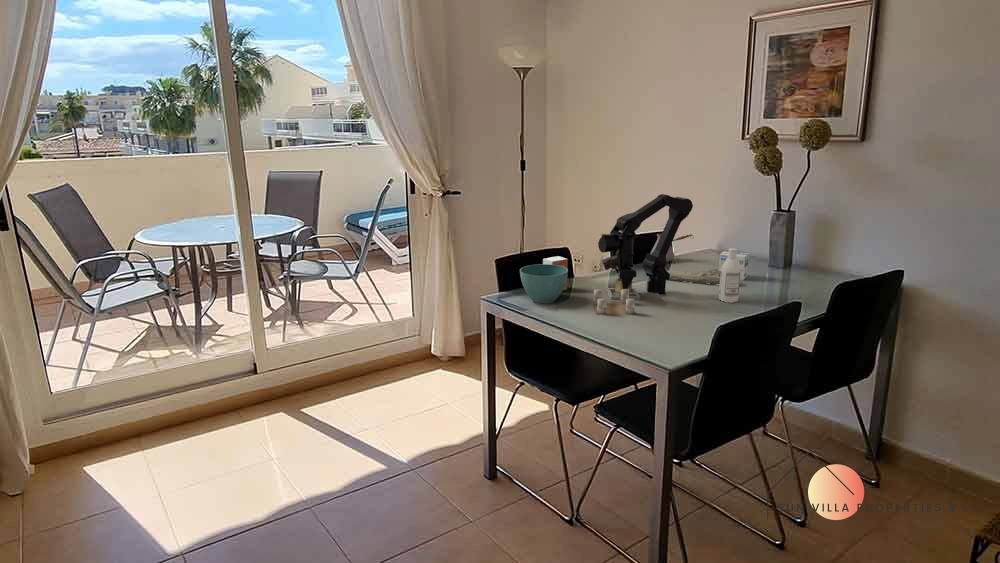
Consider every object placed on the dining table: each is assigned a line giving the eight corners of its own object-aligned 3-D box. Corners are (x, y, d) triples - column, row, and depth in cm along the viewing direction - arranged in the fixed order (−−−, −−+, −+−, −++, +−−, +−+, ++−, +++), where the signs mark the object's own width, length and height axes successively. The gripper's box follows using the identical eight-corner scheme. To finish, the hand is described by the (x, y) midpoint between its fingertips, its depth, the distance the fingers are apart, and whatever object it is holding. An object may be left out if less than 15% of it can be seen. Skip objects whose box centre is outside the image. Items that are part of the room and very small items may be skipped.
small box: (551, 293, 248) (552, 261, 245) (542, 289, 253) (542, 258, 250) (567, 289, 253) (568, 258, 249) (557, 286, 258) (558, 255, 254)
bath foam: (742, 301, 234) (746, 249, 229) (728, 304, 231) (732, 251, 226) (728, 296, 240) (732, 246, 235) (714, 299, 237) (718, 248, 232)
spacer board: (629, 303, 234) (629, 288, 232) (636, 317, 218) (637, 301, 217) (591, 303, 234) (592, 288, 233) (596, 317, 219) (596, 301, 217)
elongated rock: (656, 277, 276) (651, 283, 267) (656, 265, 274) (651, 272, 266) (740, 281, 260) (737, 288, 252) (740, 269, 259) (738, 276, 250)
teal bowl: (533, 310, 227) (533, 277, 224) (512, 297, 243) (512, 267, 240) (576, 303, 234) (576, 272, 231) (553, 291, 250) (553, 262, 247)
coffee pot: (644, 260, 299) (646, 230, 295) (658, 257, 306) (660, 227, 302) (683, 268, 284) (686, 236, 280) (697, 264, 291) (699, 232, 287)
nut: (630, 289, 243) (631, 277, 242) (632, 293, 238) (633, 281, 237) (614, 289, 244) (614, 277, 242) (616, 293, 238) (616, 281, 237)
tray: (635, 293, 246) (635, 288, 246) (640, 301, 236) (640, 296, 235) (607, 293, 247) (607, 288, 246) (610, 301, 236) (611, 296, 236)
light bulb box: (747, 277, 267) (749, 253, 264) (743, 281, 262) (746, 256, 259) (721, 274, 273) (723, 250, 270) (717, 278, 267) (719, 253, 264)
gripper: (601, 245, 246) (599, 283, 250) (606, 255, 228) (605, 296, 232) (629, 244, 245) (627, 283, 249) (637, 255, 227) (635, 296, 231)
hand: (623, 289), depth 240 cm, fingers closed on nut, 5 cm apart
